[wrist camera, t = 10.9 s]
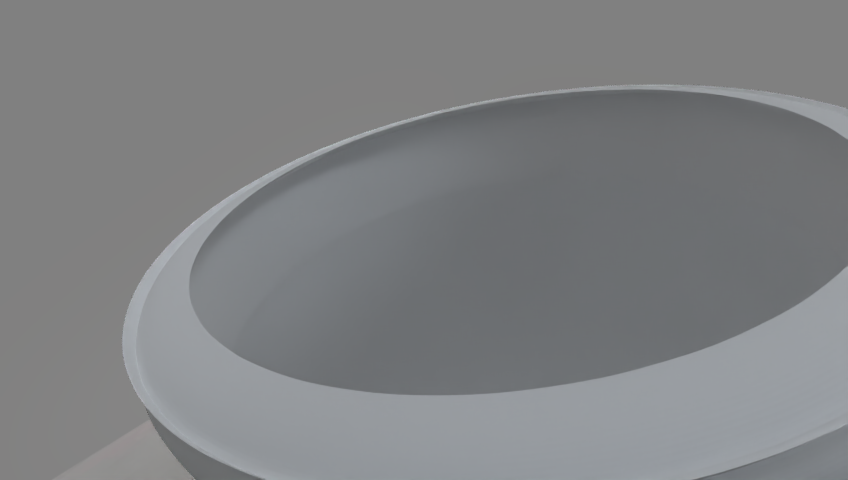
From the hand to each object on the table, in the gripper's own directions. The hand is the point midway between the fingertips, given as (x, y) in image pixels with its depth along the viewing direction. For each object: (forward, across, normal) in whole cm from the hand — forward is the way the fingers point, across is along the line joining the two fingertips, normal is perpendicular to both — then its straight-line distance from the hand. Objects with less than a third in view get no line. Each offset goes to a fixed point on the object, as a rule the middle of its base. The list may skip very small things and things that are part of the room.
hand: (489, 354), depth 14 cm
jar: (-4, 0, -9) cm, 10 cm away
